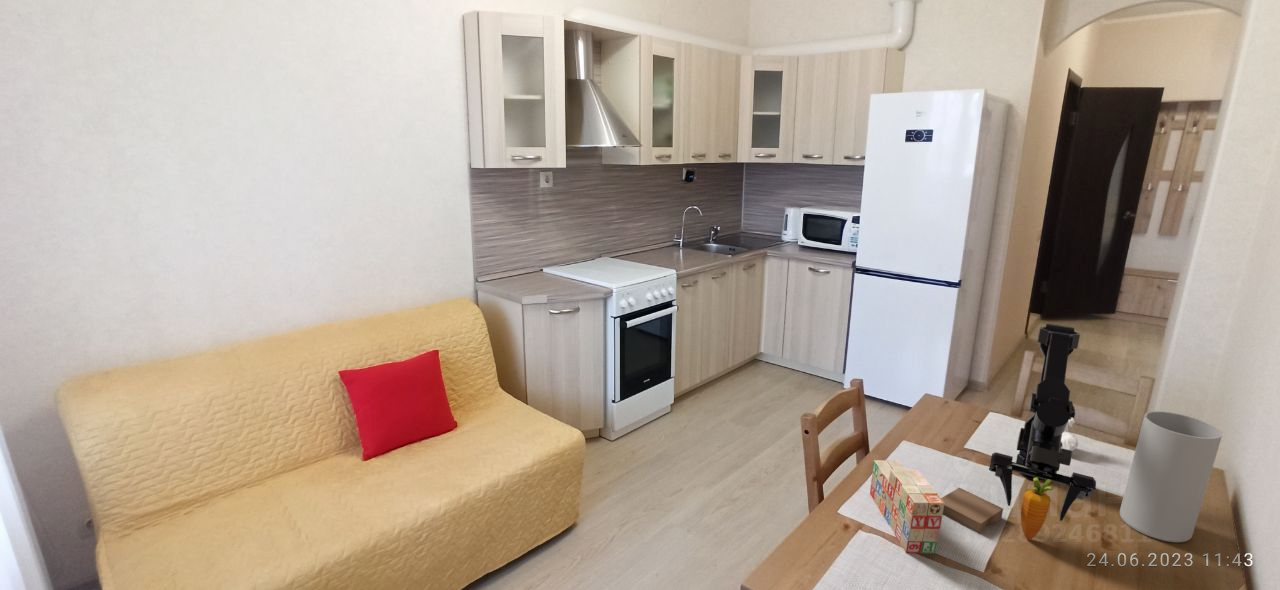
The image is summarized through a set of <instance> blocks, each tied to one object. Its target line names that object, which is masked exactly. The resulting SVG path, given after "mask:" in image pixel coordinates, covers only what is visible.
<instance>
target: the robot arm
mask: <svg viewBox="0 0 1280 590" xmlns="http://www.w3.org/2000/svg"><path fill="white" fill-rule="evenodd" d="M1080 337H1081V333H1080V332H1077V331H1075V327H1072V326H1066V325H1059V324H1054V323H1045V326H1039V329H1038V333H1037V340H1036V341H1037V343H1039V345H1038V346H1039V350H1040V352H1041V354H1042V357H1043V362H1042V363H1043V364H1042V368H1041V374H1040V380H1039V382H1038V383H1037V386H1036V390H1035V393H1033V392H1032V393H1031V397H1030V402H1029V406H1028V407H1029V412H1032V413H1033V414H1032V415H1031V416H1030V417H1029V418H1028V419H1027V420H1026V421H1025V422H1024V425H1023V427H1020V430H1019V434H1018V437H1017V442H1016V443H1017V444H1016V451H1019V453H1017V456H1016V460H1015V462H1014V461H1013V459H1014V458H1013V456H1011V455H1008V454H1004V453H1000V452H993V453H992V454H991V457H990V462H989V468H988V470H989V471H990V472H992V473H994V476H995V477H998V478H999V479H1000V482H1001V484H1002V487H1003V490H1004V494H1005V499H1006V504H1007V506H1008V507H1010V506H1011V504H1012V497H1013V495H1012V494H1013V493H1012V492H1013V490H1012V489H1013V488H1012V487H1013V486H1012V485H1013V484H1012V483H1013V481H1012V480H1013V472H1014V473H1019V474H1021V475H1022V476H1023V477H1024V478H1026V479H1027V480H1033V478H1035V477H1036V478H1038V479H1039V480H1045V481H1047V480H1048V479H1050V480H1051V483H1056V484H1059V485H1063V486H1067V488H1068V489H1067V490H1066V493H1065V494H1064V498H1063V501H1062V505H1061V509H1060V513H1059V522H1062V521H1063V520H1064V518H1065V516H1066V515H1067V512H1068V511H1069V509H1070V507H1071V506H1072V504H1073V503H1074V502H1075V501H1076V500H1083V499H1084V498H1091V497H1092V496H1093V494H1094V493H1095V492H1096V488H1097V481H1096V479H1095V478H1094V477H1092V476H1090V475H1085V474H1082V473H1078V472H1072V475H1071V476H1069V475H1064V474H1059V473H1058V472H1059V471H1060V467H1061V466H1060V465H1065V466H1068V467H1069V466H1071V462H1072V455H1073V451H1071V450H1067V449H1061V447H1062V442H1061V438H1062V433H1063V432H1064V430H1065V427H1066V425H1067V423H1068V420H1071V418H1074V419H1075V416H1076V409H1075V405H1073V404H1074V403H1073V401H1072V400H1070V397H1071V390H1070V389H1069V388H1068V386H1067V384H1066V383H1065V382H1066V381H1065V380H1066V375H1067V366H1068V358H1069V356H1070V355H1071V354H1072V353H1073V352H1074V349H1075V350H1077V349H1078V347H1079V343H1080Z"/></svg>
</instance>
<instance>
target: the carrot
mask: <svg viewBox="0 0 1280 590" xmlns="http://www.w3.org/2000/svg"><path fill="white" fill-rule="evenodd" d="M1032 480H1033V489H1032V488H1031V489H1026V490H1025V492H1024V494H1023V497H1022V503H1021V508H1020V509H1021V510H1020V525H1021V529H1022V532H1023V534H1024V537H1025V538H1026V539H1027V541H1030V540H1032V539H1033V538H1035V537H1036V536H1037V535H1038V534H1039V533H1040V531H1041V529H1042V527H1043V525H1044V523H1045V521H1046V519H1047V515H1048V513H1049V508H1050V505H1051V497H1050V496H1049V495H1048V494H1047V493H1045V492H1047V491H1052V490H1053V487H1052V486H1048V485H1049V484H1050V483H1052V481H1051V480H1050V479H1048V480H1045V482H1044V483H1043V485H1042V486H1041V483H1040V479H1038V478H1036V477H1035V478H1033V479H1032Z"/></svg>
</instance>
